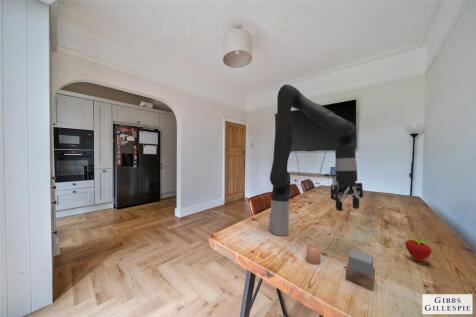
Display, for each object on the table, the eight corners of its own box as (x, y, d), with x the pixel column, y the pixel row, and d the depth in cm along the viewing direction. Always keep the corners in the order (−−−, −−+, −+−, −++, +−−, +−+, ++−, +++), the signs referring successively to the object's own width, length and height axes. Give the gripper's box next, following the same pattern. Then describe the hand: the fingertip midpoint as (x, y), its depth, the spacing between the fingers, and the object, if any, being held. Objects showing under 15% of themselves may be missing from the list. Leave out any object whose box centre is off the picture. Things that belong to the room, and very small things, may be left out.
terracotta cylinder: (304, 260, 68) (304, 248, 68) (308, 255, 72) (309, 243, 72) (317, 266, 65) (318, 252, 65) (322, 260, 68) (322, 247, 68)
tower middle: (348, 268, 58) (348, 256, 58) (351, 260, 62) (351, 249, 62) (371, 276, 54) (371, 263, 54) (373, 267, 58) (373, 255, 58)
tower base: (345, 280, 58) (345, 268, 58) (349, 270, 63) (350, 259, 63) (372, 291, 53) (372, 278, 53) (374, 279, 58) (374, 267, 58)
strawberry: (411, 255, 73) (412, 230, 73) (435, 266, 65) (436, 239, 65) (400, 256, 71) (401, 232, 71) (423, 268, 64) (424, 241, 64)
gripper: (351, 168, 78) (352, 205, 77) (324, 169, 74) (326, 209, 73) (368, 168, 71) (370, 209, 70) (339, 170, 67) (341, 213, 66)
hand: (347, 209), depth 72 cm, fingers open, 8 cm apart
